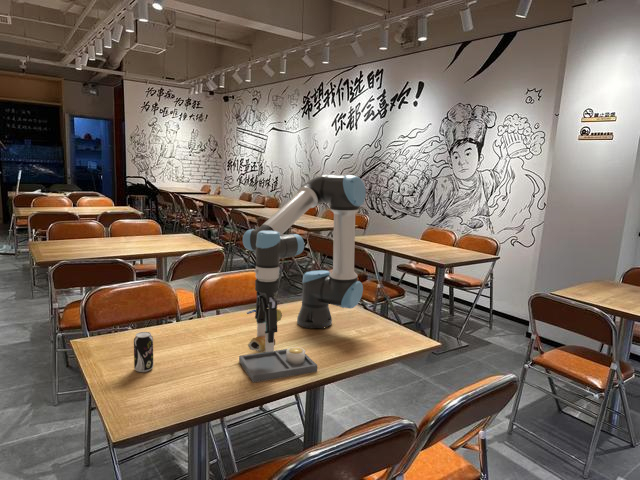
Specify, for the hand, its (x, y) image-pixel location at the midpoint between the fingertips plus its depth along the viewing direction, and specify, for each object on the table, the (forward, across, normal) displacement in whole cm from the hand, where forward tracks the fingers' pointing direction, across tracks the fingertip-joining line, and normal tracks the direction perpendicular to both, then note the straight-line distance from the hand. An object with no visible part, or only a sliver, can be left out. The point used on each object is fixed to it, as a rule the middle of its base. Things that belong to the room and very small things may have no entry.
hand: (265, 346), depth 146 cm
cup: (+8, -18, +6) cm, 21 cm away
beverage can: (+8, -13, -36) cm, 40 cm away
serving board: (+8, 0, +5) cm, 9 cm away
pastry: (+1, 0, -1) cm, 1 cm away
